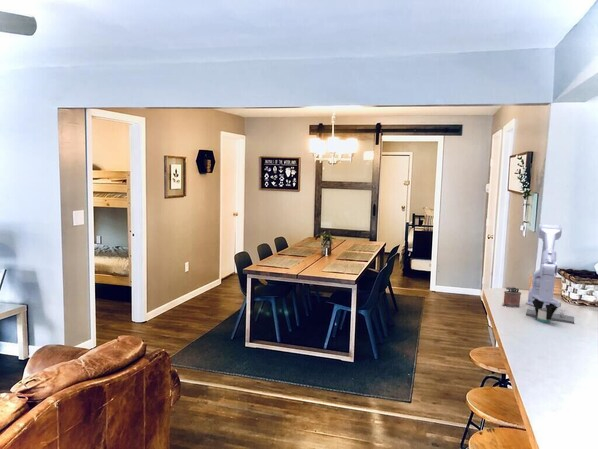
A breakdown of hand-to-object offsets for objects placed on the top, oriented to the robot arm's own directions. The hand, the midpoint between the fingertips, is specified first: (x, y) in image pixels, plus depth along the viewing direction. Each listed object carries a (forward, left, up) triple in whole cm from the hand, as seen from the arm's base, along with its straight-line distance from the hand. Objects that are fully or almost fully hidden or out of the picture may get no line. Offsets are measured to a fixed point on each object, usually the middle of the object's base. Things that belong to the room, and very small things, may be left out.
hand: (543, 317), depth 216 cm
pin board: (-3, +8, -1) cm, 9 cm away
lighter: (-22, +4, -2) cm, 22 cm away
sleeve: (0, 0, -1) cm, 1 cm away
